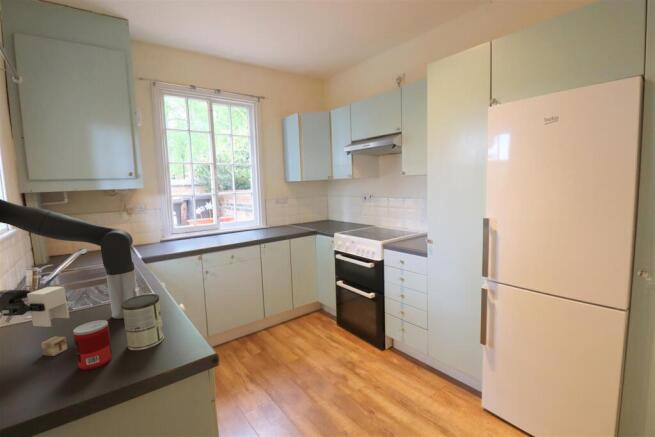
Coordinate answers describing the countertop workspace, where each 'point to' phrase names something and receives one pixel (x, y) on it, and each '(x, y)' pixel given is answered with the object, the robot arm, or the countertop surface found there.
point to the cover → (49, 305)
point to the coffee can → (142, 321)
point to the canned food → (92, 344)
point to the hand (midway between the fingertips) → (55, 302)
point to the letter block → (54, 346)
